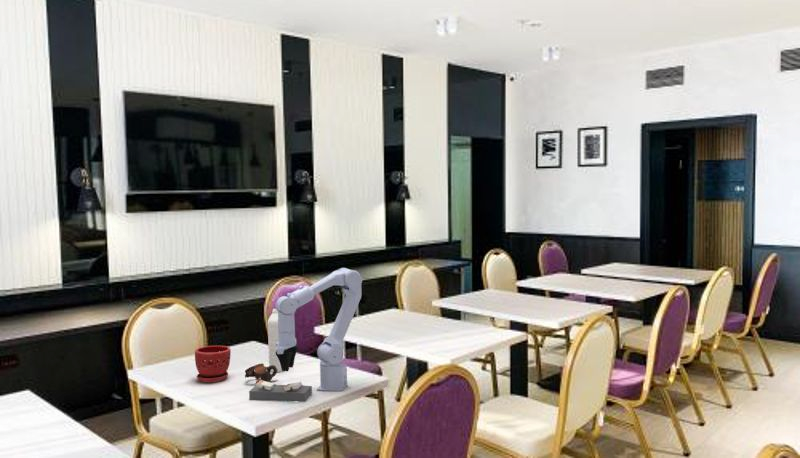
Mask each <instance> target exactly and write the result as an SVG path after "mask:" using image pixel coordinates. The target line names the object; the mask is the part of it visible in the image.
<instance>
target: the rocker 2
mask: <svg viewBox="0 0 800 458" xmlns="http://www.w3.org/2000/svg"><path fill="white" fill-rule="evenodd" d="M285 385H286V386H285V387H284V389H285V391H286V390H293V389H297V388H299V387H300V386H301V385H302V381H298V382H297V381H296V382H293V383H288V384H285Z"/></svg>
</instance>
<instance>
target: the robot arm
mask: <svg viewBox="0 0 800 458" xmlns="http://www.w3.org/2000/svg"><path fill="white" fill-rule="evenodd" d="M362 283H363V278H362V276H361V274H360V272H359V271H358V270H354V269H349V268H347V267H341V268H338V269H336V270H334V271H332V272H331V273H329V274H328V275H326V276H325V277H323V278H322V279H320V280H318V281H316V282H315V283H313V284H312V285H310V286H309V285H304V286H303V285H300V286H298V289H296V290H294V291H292V292H288V293H286V295H283V296H280V297H279V298H278V299H277V300H276V301H275V302H276V303H275V304H274V307H275V308H274V309H277V311H278V336H279V342H277V343H276V346H278V348H277V351H276V356H277V357H278V359H279V361H280V365H281V368H282V372H289V371H290V370H289V369H290V368H293V367H294V363H295V358H296V354H297V352H298V350H299V346H298V345H297V338H296V330H295V329H296V325H295V324H296V323H295V313H296V311H297V310H298V308H300V307H302V306H304V305H305V304H307V303H309V302H311V301H313V299H314V297H315V295H317V294H319V293H321V292H323V291H325V290H327V289H329V288H331V287H333V286H338V287H339V286H340V287H341V288H342V290H343V292H344V294H345V297H344V300H343V302H342V304H341V307H340V309H339V311H338V314H337V316H336V318H335V320H334V322H333V323H334V324H333V325H332V328H331V331H330V333H329V335H328V336H326V337H325V338H324V340H323V342H322V343H321V344H320V345H319V346H318V348H317V350H316V354H317V357H318V358H319V360H320V362H319V373H320V375H319V377H320V380H319V381H320V384H319V386H318V387H317V388H316V390H317V391H329V392H330V391H333V392H342V390H343V389H344V390H345V388H346V387H347V386H348V385H347V384H348V374H347V373H348V369H347V368H348V367H347V365H346V364H345V363H341V361H342V360H343V351H344V348H345V347H344V346H345V345H344V339H345V337H346V334H347V332H348V330H349V327H350V325H351V323H352V320H353V317H354V315H355V313H356V310H357V308H358V306H359V303H360V301H361V299H362ZM346 385H347V386H346ZM344 390H343V391H344Z"/></svg>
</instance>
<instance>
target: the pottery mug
mask: <svg viewBox="0 0 800 458" xmlns="http://www.w3.org/2000/svg"><path fill="white" fill-rule="evenodd" d="M271 369H273V370H274V371H273V372H270V371H271ZM244 373H245V375H244V378H245V379H246V378H255V380H256V381H255V383H256V385H257V383H258V382H259V381H261V380H262V381H266V382H270V383H271V381H272V379H273V378H274V377H275V376H276V375H277V373H278V372H277V368H276V366H274V365H271V366H269V365H268V366H265V364H264V363H259V364H256V365H255V364H254V365H253V366H250V367H248V368H246V369H245V370H244Z"/></svg>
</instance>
